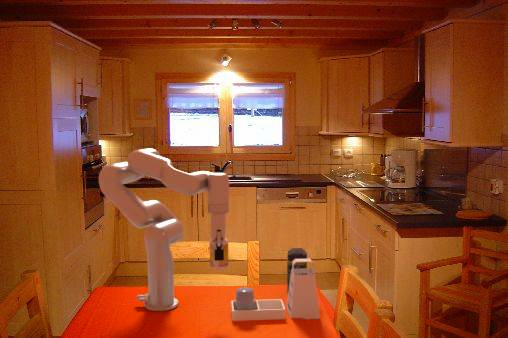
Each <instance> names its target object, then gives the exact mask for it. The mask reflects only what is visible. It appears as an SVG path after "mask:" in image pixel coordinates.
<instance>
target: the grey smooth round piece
mask: <svg viewBox="0 0 508 338" xmlns="http://www.w3.org/2000/svg"><path fill="white" fill-rule="evenodd" d="M254 295H255V291H254V289H253V288H251V287H245V286H244V287H240V288H239V287H238V288H237V289H236V290H235V301H236V310H254V300H255V296H254Z"/></svg>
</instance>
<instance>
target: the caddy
mask: <svg viewBox="0 0 508 338" xmlns="http://www.w3.org/2000/svg"><path fill="white" fill-rule="evenodd" d="M230 303H231V318H232V321H233V322H241V321H265V320H267V321H269V320H272V321H273V320H285V319H286V308H285V307H286V306H285V304H284V302H283V299H282V298H281V299H280V298H278V299H274V298H273V299H272V298H271V299H254V310H236V300H231V301H230Z"/></svg>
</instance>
